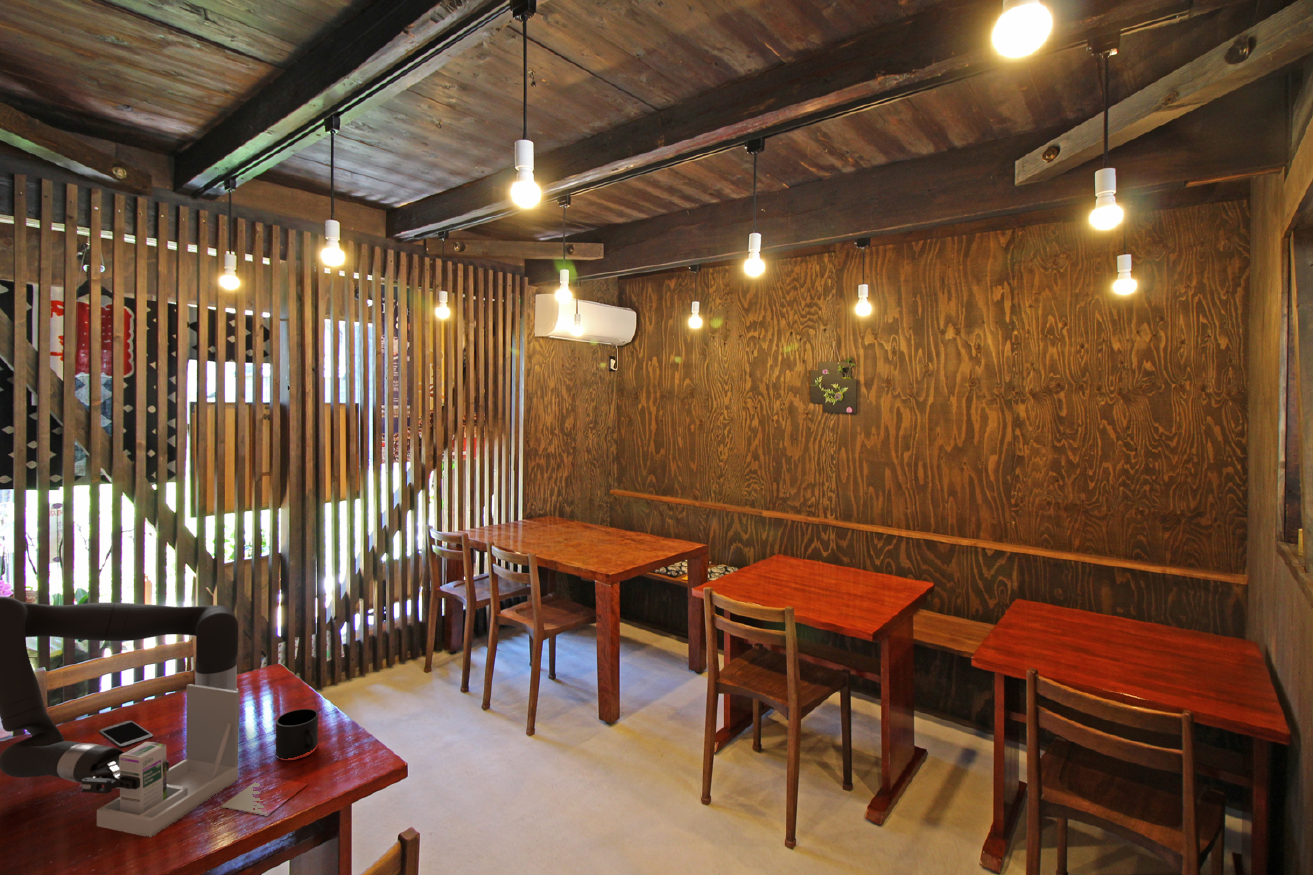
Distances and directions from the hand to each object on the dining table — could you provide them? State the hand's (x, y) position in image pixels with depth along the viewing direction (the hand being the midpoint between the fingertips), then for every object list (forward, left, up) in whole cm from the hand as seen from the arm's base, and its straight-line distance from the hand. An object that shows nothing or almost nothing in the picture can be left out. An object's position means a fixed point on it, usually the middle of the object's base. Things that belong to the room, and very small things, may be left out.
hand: (153, 775), depth 135 cm
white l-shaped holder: (-5, -1, -9) cm, 10 cm away
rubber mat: (-12, +17, -9) cm, 23 cm away
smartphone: (-25, -39, -10) cm, 47 cm away
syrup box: (0, -2, -9) cm, 10 cm away
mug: (-29, +11, -9) cm, 32 cm away
